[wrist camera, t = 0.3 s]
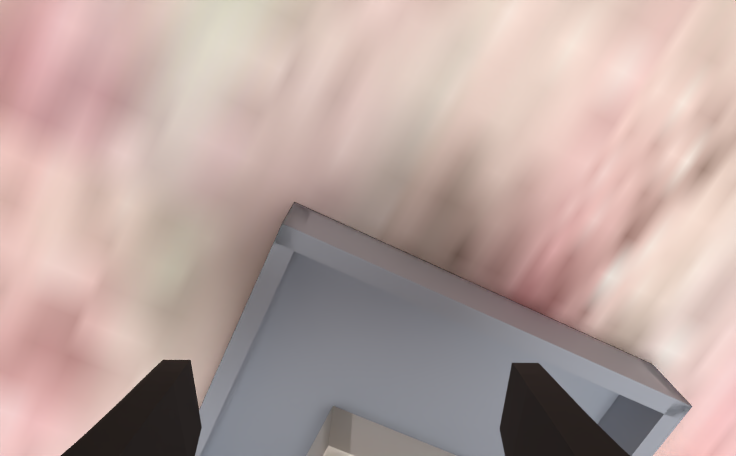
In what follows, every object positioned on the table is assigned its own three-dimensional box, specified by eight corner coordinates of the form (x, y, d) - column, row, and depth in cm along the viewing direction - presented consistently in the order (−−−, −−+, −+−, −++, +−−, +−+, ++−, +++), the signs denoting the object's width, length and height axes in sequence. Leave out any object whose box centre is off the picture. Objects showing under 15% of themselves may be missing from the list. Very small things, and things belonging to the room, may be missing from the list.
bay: (491, 579, 27) (505, 639, 25) (177, 463, 25) (152, 514, 22) (652, 364, 23) (692, 406, 20) (294, 202, 21) (282, 223, 18)
